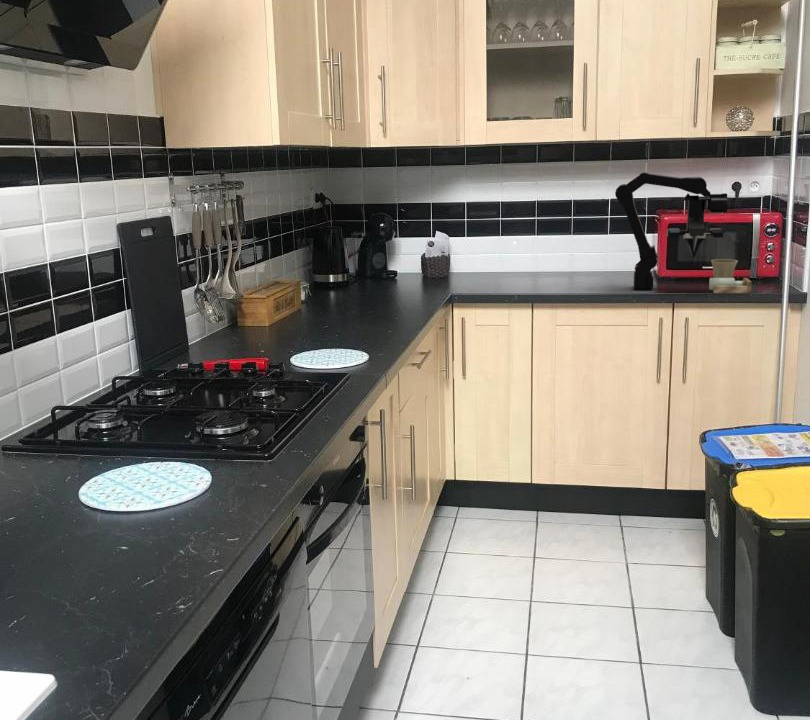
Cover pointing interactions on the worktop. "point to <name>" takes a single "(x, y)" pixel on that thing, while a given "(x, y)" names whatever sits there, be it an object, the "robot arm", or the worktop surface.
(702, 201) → the robot arm
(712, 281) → the bottle
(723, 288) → the cradle
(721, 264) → the flower pot
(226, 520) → the worktop surface
